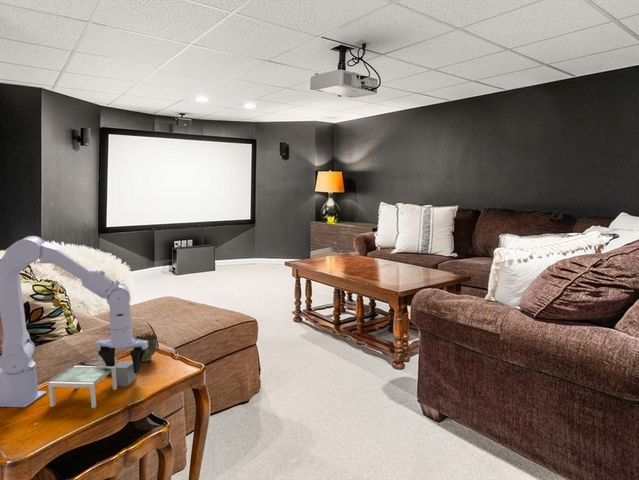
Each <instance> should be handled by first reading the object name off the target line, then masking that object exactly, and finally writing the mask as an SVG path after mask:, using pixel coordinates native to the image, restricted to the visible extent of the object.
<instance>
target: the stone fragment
mask: <svg viewBox="0 0 639 480" xmlns="http://www.w3.org/2000/svg"><path fill="white" fill-rule="evenodd" d="M120 361H125V360H118V359H117V358H115V365H116V364H117V363H118V362H120ZM79 363H81V364H82V363H83V364H84V365H88V366H106V364H105V362H104V360H103V359H102V358H101V356H100V355H99V356H98V355H96V356H95V358H92V359H89V360H85V361H84V360H83V361H81V362H79ZM141 371H142V369H141V368H140V371H139V372H141Z"/></svg>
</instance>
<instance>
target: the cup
mask: <svg viewBox="0 0 639 480" xmlns="http://www.w3.org/2000/svg"><path fill="white" fill-rule="evenodd" d="M133 339H139V340H145V341H148V347H147V349H146V351H145V353H144V355H143V358H142V361H141V363H147V362H148V363H149V362H151V361H152V359H153V355H155V353H156V351H157V344H158V336H157V334H154V333H153V334H151V333H148V334H147V333H145V335H143V334H141V336H140V335H136V337H134V336H133Z"/></svg>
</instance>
